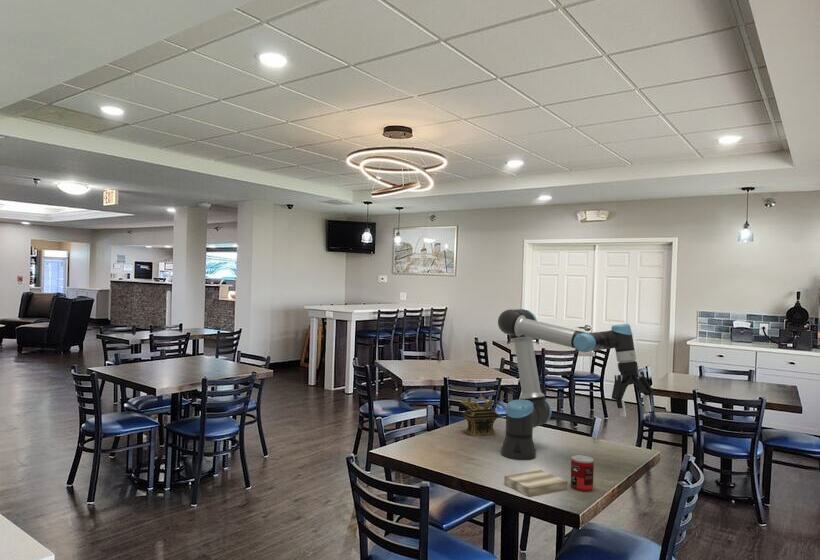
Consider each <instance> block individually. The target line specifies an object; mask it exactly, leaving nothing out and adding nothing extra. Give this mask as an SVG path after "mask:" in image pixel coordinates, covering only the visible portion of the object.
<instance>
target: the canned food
mask: <svg viewBox="0 0 820 560" xmlns="http://www.w3.org/2000/svg"><path fill="white" fill-rule="evenodd" d="M570 461H571V462H570V487H571V489H573V490H575V491H579V492H590V491H593V488H594V472H595V471H594V470H595V469H594V467H595V460H594V458H593V457H591V456H588V455H579V454H578V455H576V454H575V455H572V456H571V459H570Z"/></svg>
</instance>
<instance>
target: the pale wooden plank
mask: <svg viewBox="0 0 820 560" xmlns="http://www.w3.org/2000/svg"><path fill="white" fill-rule="evenodd" d="M503 480H504V481H503V484H504V485H505V486H507V487H510V489H513V490H514V491H517V492H519V493H522V494H523V495H525V496H527V497H529V498H532V497H537V496H541V495H547V494H552V493H556V492H561V491H565V490H568V480H565V479H563V478H562V477H558V476H556V475H553V474H552V473H549V472H547V471H545V470H542V469H538V470H531V471H527V472H521V473H515V474H510V475H504V479H503Z"/></svg>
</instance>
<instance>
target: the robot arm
mask: <svg viewBox="0 0 820 560" xmlns="http://www.w3.org/2000/svg"><path fill="white" fill-rule="evenodd" d="M497 326H498V328H499V329H500V331H501V332H502V333H503V334H506V335H509V340H510V341H512V342H513V345H514V349H515V351H514V352H515V357H516V363H517V368H518V369H517V370H518V376H519V383H520V388H521V389H520V390H521V395H520V396H519V399H512V400H510V401H509V402H507V404H506V410H505V436H504V441H503V443H502V446H501V449H500V455H502V456H503V457H504V458H508V459H513V460H518V461H519V460H520V461H525V460H527V461H528V460H533V459H535V458H536V457H537V450H536V448H535V447H536V446H535V443H534V439H533V429H534V428H535V427H541V426H544V424H546V423H547V422H549V421H550V419H551V417H552V407H551V405H550V403H549V402H548V401H547V400H546V395H545V394H544V393H543V392H542V391H541V390H542V389H541V384H540V379H539V373H538V367H537V359H536V353H535V348H534V342H533V341H534V339H537V340H540V341H545V342H549V343H553V344H555V345H561V346H565V347H568V348H573V349H575V350H577V351H578V352H583V353H590V352H592V351H593V352H594V351H597V352H598V351H603V350H609V349H614V350H615V357H616V361H617V362H618V363H617V369H618V371H619V372H620V374H615V375H614V383H613V389H612V394H611V399H612V400H614V401H616V406H617V407H616V408H617V409H618V411H619V417H623V418H624V417H626V418H627V412H626V404H625V399H623V398H624V395H625V393H626V390H627V388H628V387H629V385H630V386H631V385H635V386H636V387H637V389H638V390H639V391H640V392H641V393H642V394H643V395H642V400H643V401H642V402H643V407H644V412H647V413H649V412H650V413H651V412H652V406H651V403H652V401H651V400H652V399H651V396H652V394H653V393H654V390H653V388H652V387H651V385H650V383H649V381H648V380H647V378H646V377H645V372H644V371H638V370H639V366H638V362H637V356H636V350H635V349H636V348H635V344H634V338H633V337H634V336H633V331H632V329H631V325H630V324H629V323H623V324H614V325H613V324H612V325H611V330H606V331H605V330H604V331H596V332H585V331H581V330H577V329H573V328H568V327H563V326H561V325H556V324H550V323H547V322H542V321H538V320H537V317H536V315H535V314H534V313H533V312H532V311H530V310H528V309H523V308H522V309H520V308H519V309H513V308H510V309H505V310H504V311H502V312H501V314H500V315H499V316H498V319H497Z"/></svg>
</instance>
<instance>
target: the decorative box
mask: <svg viewBox="0 0 820 560" xmlns="http://www.w3.org/2000/svg"><path fill="white" fill-rule="evenodd" d="M482 394H483V393H480V394H479V395H480V398H481V399H482V400H483V402H484V405H483V406H480V405H479V403H478V402H477V401H471V397H470V396H468V399H467V400H466V401H465V400H464V401H463V400H461V401H460V403H461V404H463V405H464V406H465V407H468V408H470V409H466V410H465V411H463V412H462V416H463V417H464V418H465V420H466V421H467V428H466V430H465V433H466V434H468V435H470V436H471V437H481V436H494V435H495V434H496V431H495V430H494V423H495V421H496V420H497V419H498V418H499V417H500V414H499V412H496V410H494V408H493V406H492V403H493V399H492V398H489V399H488V401H487V400H486V399H485V398H484V397H483V396H482Z"/></svg>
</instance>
